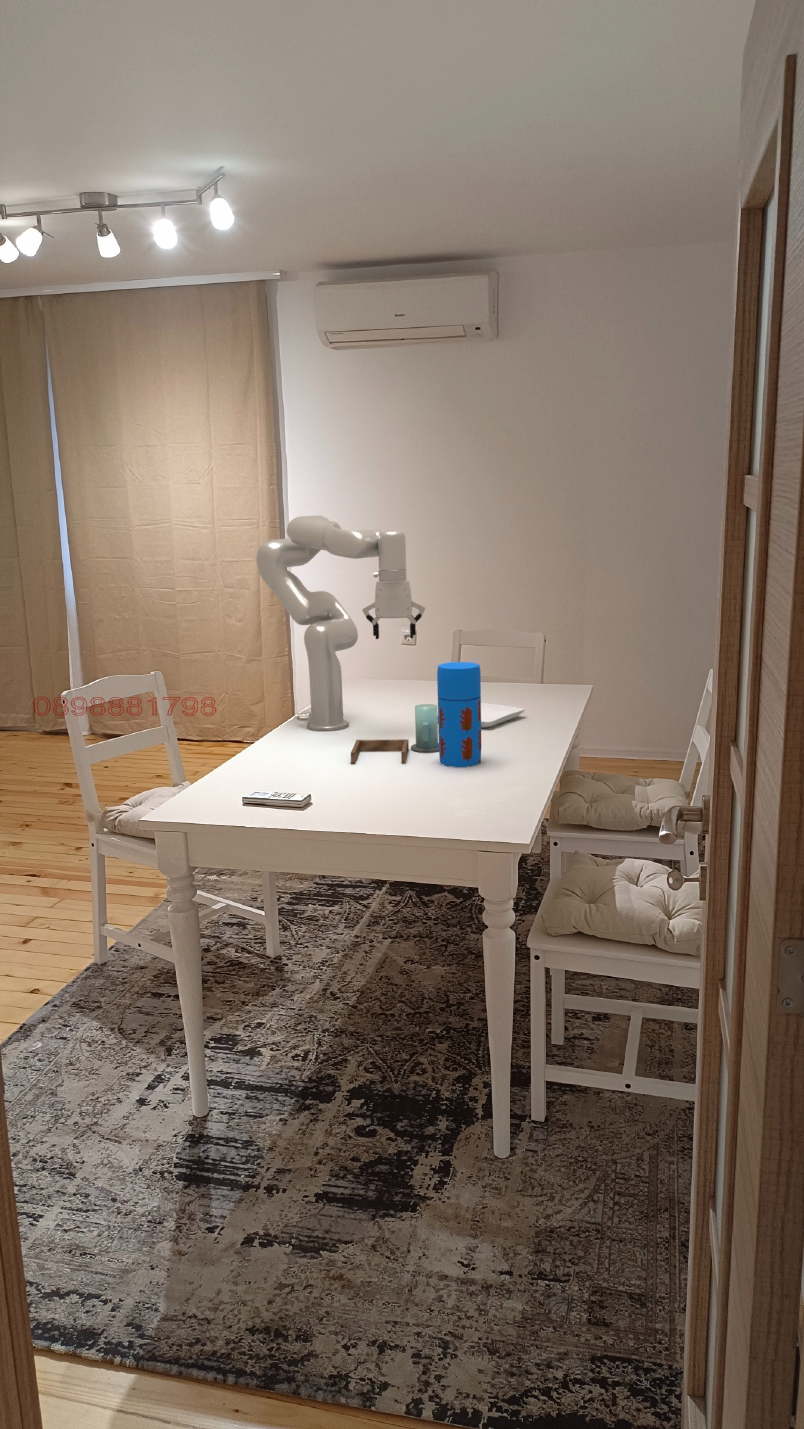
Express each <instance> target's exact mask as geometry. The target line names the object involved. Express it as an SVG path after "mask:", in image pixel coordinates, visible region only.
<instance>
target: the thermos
mask: <svg viewBox="0 0 804 1429" xmlns="http://www.w3.org/2000/svg"><path fill="white" fill-rule="evenodd" d="M480 666H481V665H480V664H479V663H476V662H470V661H467V662H466V661H456V662H453V661H452V662H445V663H440V664H438V665H437V671H436V674H437V675H436V676H437V677H436V680H437V682H436V683H437V684H436V685H437V712H438V743H439V751H438V754H439V763H440V765H442V764H444V765H443V766H445V765H446V766H445V767H449V766H454V767H453V768H468V767H467V766H470V767H475V766H477V765H476V764H478V765H480V764H481V761H482V728H481V703H482V698H481V697H482V696H481V695H482V692H481V691H482V690H481V689H482V688H481V687H482V685H481V684H482V683H481V675H482V674H481V668H480ZM479 763H480V764H479ZM474 765H475V766H474Z"/></svg>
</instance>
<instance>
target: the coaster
mask: <svg viewBox="0 0 804 1429" xmlns="http://www.w3.org/2000/svg"><path fill="white" fill-rule="evenodd" d="M410 750H411V751H413V752H415V753H426V754H427V753H428V754H429V753H439V742H438V747H436V748H433V749H420V748H417V747H416V743H414V744H412V745H411V746H410Z"/></svg>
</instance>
